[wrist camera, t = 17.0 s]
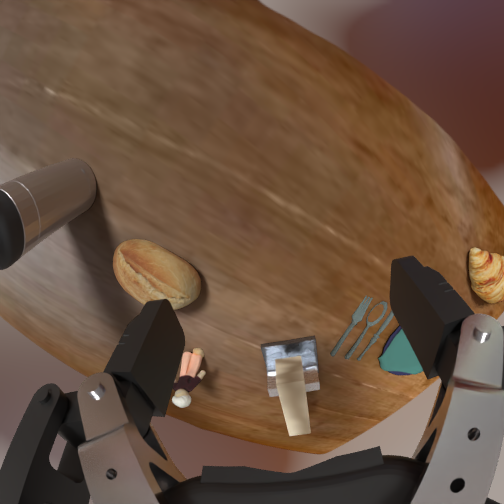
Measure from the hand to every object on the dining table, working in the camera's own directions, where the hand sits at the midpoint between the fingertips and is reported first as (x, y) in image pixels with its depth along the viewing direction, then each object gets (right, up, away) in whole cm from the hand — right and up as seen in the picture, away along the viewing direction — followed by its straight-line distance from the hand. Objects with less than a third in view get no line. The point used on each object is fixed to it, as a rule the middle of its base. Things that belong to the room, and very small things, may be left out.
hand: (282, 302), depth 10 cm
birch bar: (+6, -22, +35) cm, 42 cm away
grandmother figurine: (-13, -19, +43) cm, 49 cm away
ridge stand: (+7, -19, +43) cm, 47 cm away
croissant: (+48, -2, +33) cm, 58 cm away
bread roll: (-15, 0, +34) cm, 38 cm away
